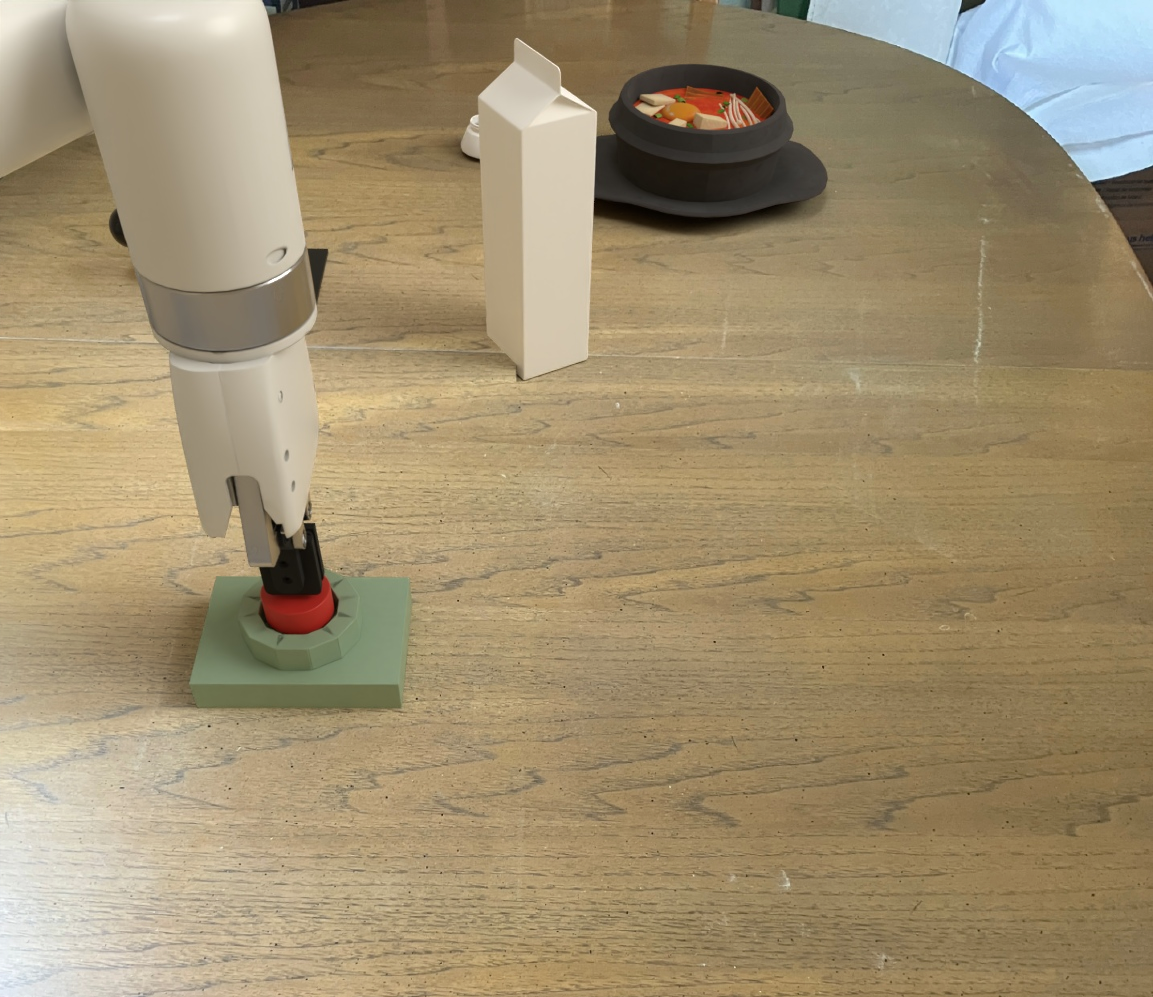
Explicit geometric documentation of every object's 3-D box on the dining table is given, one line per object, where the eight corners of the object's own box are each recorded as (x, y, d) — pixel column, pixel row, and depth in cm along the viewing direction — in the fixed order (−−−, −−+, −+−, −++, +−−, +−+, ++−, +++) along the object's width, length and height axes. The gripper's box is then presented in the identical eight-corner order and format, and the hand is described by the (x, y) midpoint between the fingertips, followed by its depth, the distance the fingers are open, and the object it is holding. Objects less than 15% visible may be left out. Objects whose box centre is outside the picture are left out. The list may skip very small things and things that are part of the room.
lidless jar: (516, 160, 113) (506, 138, 116) (516, 129, 110) (505, 107, 114) (466, 164, 112) (457, 141, 115) (464, 133, 110) (455, 111, 113)
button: (260, 635, 66) (255, 614, 65) (270, 587, 69) (265, 565, 68) (330, 635, 67) (326, 614, 65) (337, 587, 69) (334, 566, 68)
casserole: (806, 145, 117) (822, 55, 110) (840, 238, 105) (860, 143, 98) (560, 143, 115) (561, 51, 109) (566, 236, 104) (568, 140, 97)
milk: (549, 324, 95) (554, 27, 78) (588, 361, 91) (602, 59, 74) (484, 344, 92) (474, 43, 75) (522, 382, 89) (520, 77, 72)
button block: (197, 708, 68) (180, 662, 64) (223, 601, 73) (209, 554, 70) (402, 709, 68) (395, 663, 65) (412, 602, 74) (406, 555, 71)
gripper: (177, 207, 57) (250, 501, 71) (105, 383, 47) (206, 682, 61) (330, 208, 57) (373, 501, 71) (289, 384, 47) (348, 682, 62)
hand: (295, 584), depth 66 cm, fingers closed
